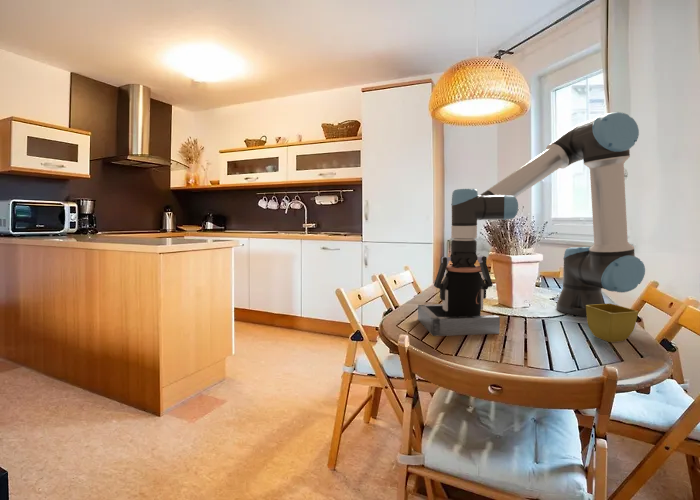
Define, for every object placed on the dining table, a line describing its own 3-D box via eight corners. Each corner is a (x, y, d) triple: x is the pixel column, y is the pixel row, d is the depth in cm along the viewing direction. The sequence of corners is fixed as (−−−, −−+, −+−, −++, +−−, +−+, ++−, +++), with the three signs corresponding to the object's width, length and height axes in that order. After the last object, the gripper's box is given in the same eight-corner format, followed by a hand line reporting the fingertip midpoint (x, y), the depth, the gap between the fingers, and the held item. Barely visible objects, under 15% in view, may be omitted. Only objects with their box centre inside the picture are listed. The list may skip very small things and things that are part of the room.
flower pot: (637, 343, 99) (639, 310, 98) (610, 346, 97) (612, 313, 96) (608, 333, 107) (610, 303, 106) (583, 335, 106) (584, 304, 105)
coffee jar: (482, 329, 110) (484, 269, 108) (446, 327, 112) (446, 269, 110) (477, 319, 120) (478, 264, 118) (444, 317, 122) (444, 264, 120)
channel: (475, 317, 125) (476, 303, 124) (499, 333, 108) (499, 317, 107) (418, 319, 123) (418, 304, 123) (432, 336, 107) (433, 319, 106)
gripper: (494, 237, 118) (492, 305, 120) (423, 239, 116) (423, 307, 118) (505, 239, 110) (504, 311, 112) (430, 241, 109) (430, 313, 111)
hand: (462, 309), depth 115 cm, fingers closed on coffee jar, 11 cm apart
